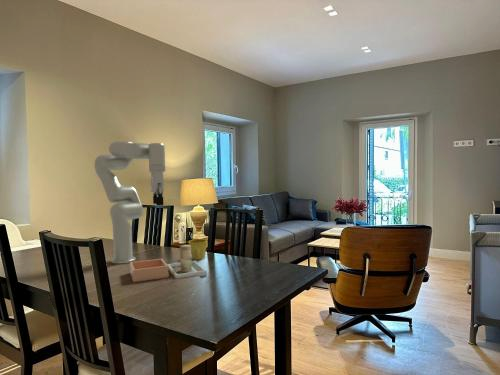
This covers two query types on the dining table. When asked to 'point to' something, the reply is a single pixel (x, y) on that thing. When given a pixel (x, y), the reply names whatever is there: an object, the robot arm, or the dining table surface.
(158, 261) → the peach square hollow box
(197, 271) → the grey tray
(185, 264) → the maple peg
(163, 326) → the dining table surface
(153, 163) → the robot arm
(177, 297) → the dining table surface
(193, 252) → the plant pot
